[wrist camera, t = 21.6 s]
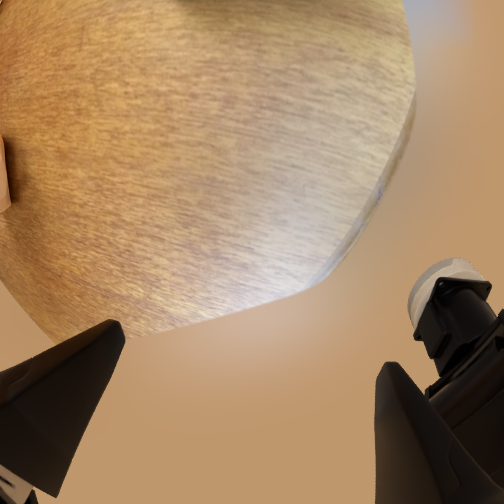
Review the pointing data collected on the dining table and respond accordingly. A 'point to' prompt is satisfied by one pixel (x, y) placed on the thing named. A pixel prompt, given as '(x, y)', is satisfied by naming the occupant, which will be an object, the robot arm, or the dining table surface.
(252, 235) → the dining table surface
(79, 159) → the dining table surface
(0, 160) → the mug
